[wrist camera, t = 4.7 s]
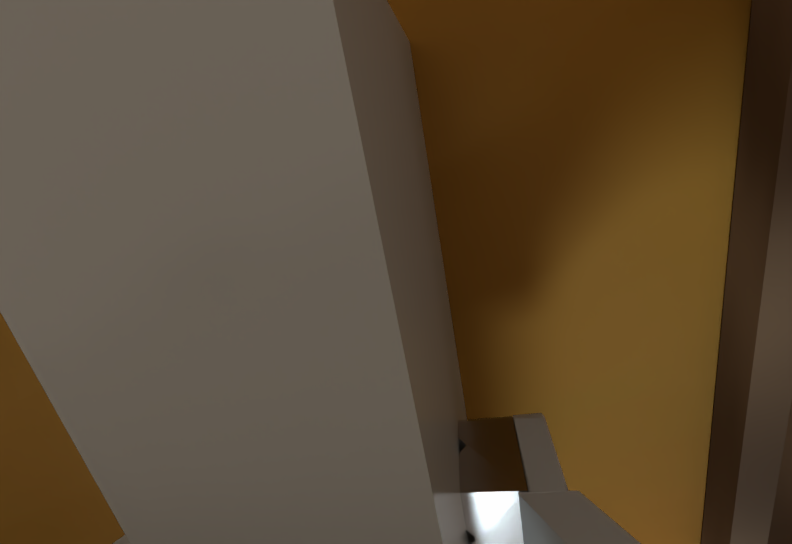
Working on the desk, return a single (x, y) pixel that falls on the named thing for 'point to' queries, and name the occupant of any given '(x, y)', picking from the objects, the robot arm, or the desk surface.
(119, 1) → the gray rectangular block
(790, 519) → the rack
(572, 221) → the desk surface
